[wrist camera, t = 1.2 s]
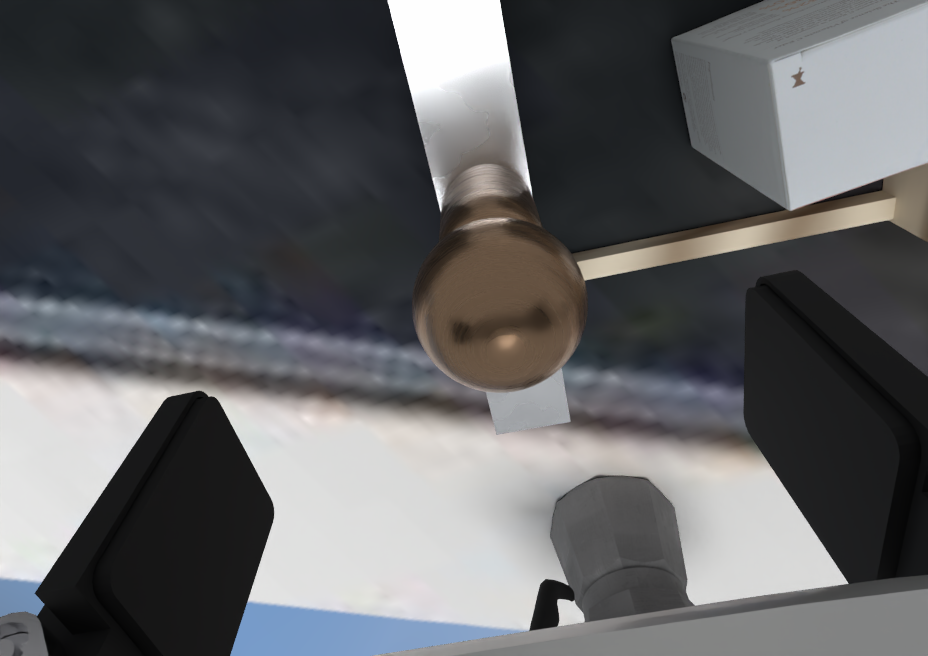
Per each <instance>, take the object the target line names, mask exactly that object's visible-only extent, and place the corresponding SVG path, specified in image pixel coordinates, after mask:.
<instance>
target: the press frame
mask: <svg viewBox="0 0 928 656" xmlns="http://www.w3.org/2000/svg"><path fill="white" fill-rule="evenodd" d="M886 220H889V221H891V222H892V223H894V224H896V225H898V226H900V227H901V228H903V229H905V230H907V231H908V232H910V233H912V234H914V235H916V236H917V237H919V238H921V239H923V240H925V241H926V242H928V163H927V164H924V165H921V166H918V167H915V168H913V169H910V170H907V171H904V172H901V173H898V174H895V175H892V176H889V177H886V178H884V180H883V187H882V191H877V192H872V193H867V194H862V195H857V196H853V197H848V198H843V199H838V200H833V201H828V202H823V203H818V204H813V205H808V206H804V207H801V208H798V209H795V210H792V211H789V210H784V211H779V212H774V213H769V214H764V215H759V216H755V217H750V218H745V219H740V220H735V221H730V222H725V223H720V224H715V225H710V226H705V227H701V228H696V229H691V230H686V231H681V232H676V233H671V234H666V235H661V236H656V237H652V238H647V239H642V240H637V241H632V242H627V243H622V244H617V245H612V246H607V247H603V248H598V249H593V250H588V251H583V252H578V253H573V254H572V255H573V257H574V259H575V260H576V262H577V264H578V266H579V268H580V270H581V272H582V275H583V278H584V280H589V279H594V278H599V277H604V276H609V275H614V274H619V273H624V272H629V271H635V270H640V269H645V268H650V267H655V266H660V265H665V264H670V263H675V262H680V261H685V260H690V259H695V258H700V257H705V256H710V255H715V254H720V253H725V252H730V251H735V250H740V249H745V248H750V247H755V246H760V245H765V244H770V243H775V242H780V241H785V240H790V239H795V238H800V237H805V236H810V235H816V234H821V233H826V232H831V231H836V230H841V229H846V228H851V227H856V226H861V225H866V224H871V223H876V222H881V221H886Z"/></svg>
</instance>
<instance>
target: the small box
mask: <svg viewBox="0 0 928 656" xmlns="http://www.w3.org/2000/svg"><path fill="white" fill-rule="evenodd" d="M671 43H672V47H673V52H674V58H675V63H676V68H677V73H678V79H679V84H680V89H681V94H682V99H683V105H684V110H685V115H686V120H687V125H688V130H689V135H690V140H691V146H692V147H693V148H694V149H696V150H697V151H699V152H700V153H702V154H703V155H705V156H706V157H708V158H709V159H711V160H712V161H714V162H715V163H717V164H718V165H720V166H722V167H723V168H725V169H726V170H728V171H729V172H731V173H732V174H734V175H735V176H737V177H738V178H740V179H741V180H743V181H744V182H746V183H747V184H749V185H750V186H752V187H753V188H755V189H756V190H758V191H759V192H761V193H762V194H764V195H765V196H767V197H769V198H770V199H772V200H773V201H775V202H776V203H778V204H779V205H781V206H782V207H784V208H786V209H787V210H789V211H792V210H795V209H798V208H801V207H804V206H806V205H809V204H812V203H815V202H818V201H821V200H824V199H827V198H830V197H833V196H835V195H838V194H841V193H844V192H847V191H850V190H852V189H855V188H858V187H861V186H864V185H867V184H869V183H872V182H875V181H878V180H881V179H883V178H886V177H889V176H892V175H895V174H898V173H901V172H904V171H907V170H910V169H913V168H915V167H918V166H921V165H924V164H927V163H928V0H764V1H762V2H759V3H757V4H755V5H752V6H750V7H747V8H745V9H742V10H740V11H737V12H735V13H732V14H730V15H727V16H725V17H723V18H720V19H718V20H716V21H713V22H711V23H708V24H706V25H703V26H701V27H698V28H696V29H693V30H691V31H689V32H686V33H683V34H681V35H678V36H675V37H673V38H672V39H671Z"/></svg>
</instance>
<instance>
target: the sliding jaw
mask: <svg viewBox="0 0 928 656" xmlns="http://www.w3.org/2000/svg"><path fill="white" fill-rule="evenodd" d="M388 3H389V7H390V11H391V15H392V19H393V23H394V27H395V31H396V35H397V39H398V43H399V47H400V51H401V55H402V59H403V63H404V67H405V71H406V75H407V79H408V83H409V87H410V91H411V95H412V99H413V103H414V107H415V111H416V115H417V119H418V123H419V127H420V131H421V135H422V139H423V143H424V147H425V151H426V155H427V159H428V163H429V167H430V171H431V175H432V179H433V183H434V187H435V191H436V195H437V199H438V203H439V207H440V211H441V222H440V234H439V243H438V244H437V245H436V246H435V247H434V248H433V249H432V251H431V252H430V253H429V254H428V256H427V257H426V259H425V260H424V262H423V264H422V266H421V268H420V270H419V273H418V275H417V278H416V281H415V285H414V290H413V298H412V312H413V320H414V325H415V329H416V333H417V335H418V338H419V340H420V343H421V345H422V346H423V348H424V350H425V352H426V353H427V355H428V356H429V357H430V359H431V360H432V361H433V363H434V364H435V365H436V366H437V367H438V368H439V369H440V370H441V371H443V372H444V373H445V374H446V375H448V376H449V377H450V378H452V379H453V380H455V381H457V382H458V383H460V384H463V385H465V386H467V387H470V388H473V389H476V390H480V391H485V392H486V394H487V398H488V402H489V406H490V410H491V414H492V418H493V422H494V426H495V430H496V434H497V435H498V434H503V433H509V432H515V431H521V430H526V429H532V428H538V427H543V426H549V425H555V424H561V423H566V422H570V416H569V410H568V404H567V398H566V392H565V386H564V380H563V374H562V368H561V367H562V366H563V365H564V364H565V363H566V362H567V361H568V359H569V358H570V357H571V356H572V354H573V353H574V351H575V350H576V348H577V346H578V344H579V342H580V340H581V337H582V335H583V332H584V328H585V324H586V320H587V311H588V299H587V290H586V286H585V281H584V278H583V275H582V272H581V270H580V268H579V266H578V264H577V262H576V260H575V259H574V257H573V255H572V254H571V253H570V251H569V250H568V249H567V248H566V246H565V245H564V244H563V243H562V242H560V241H559V240H558V239H557V238H556V237H555V236H553V235H552V234H551V233H549V232H548V231H547V230H545V229H543V227H542V224H541V221H540V218H539V215H538V212H537V209H536V206H535V203H534V200H533V196H532V190H531V184H530V178H529V172H528V167H527V161H526V155H525V149H524V143H523V137H522V131H521V125H520V119H519V113H518V107H517V101H516V95H515V89H514V83H513V77H512V72H511V66H510V60H509V54H508V48H507V42H506V36H505V30H504V24H503V18H502V12H501V6H500V0H388Z"/></svg>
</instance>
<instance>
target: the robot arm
mask: <svg viewBox="0 0 928 656" xmlns="http://www.w3.org/2000/svg"><path fill="white" fill-rule="evenodd" d="M744 420H745V424H746V427H747V430H748V432H749V434H750V436H751V437H752V439H753V440H754V442H755V443H756V445H757V446H758V448H759V449H760V451H761V452H762V454H763V455H764V457H765V458H766V460H767V461H768V463H769V464H770V466H771V467H772V469H773V470H774V472H775V473H776V475H777V476H778V478H779V479H780V481H781V482H782V484H783V485H784V487H785V488H786V490H787V491H788V493H789V494H790V496H791V497H792V499H793V500H794V502H795V503H796V505H797V506H798V508H799V509H800V511H801V512H802V514H803V515H804V517H805V518H806V520H807V521H808V523H809V524H810V526H811V527H812V529H813V530H814V532H815V533H816V535H817V536H818V538H819V539H820V541H821V542H822V544H823V545H824V547H825V548H826V550H827V551H828V553H829V554H830V556H831V557H832V559H833V560H834V562H835V563H836V565H837V566H838V568H839V569H840V571H841V572H842V574H843V575H844V577H845V579H846V580H847V582H848V583H849V584H845V585H838V586H830V587H823V588H815V589H808V590H801V591H793V592H786V593H778V594H771V595H763V596H757V597H750V598H744V599H737V600H730V601H724V602H717V603H710V604H704V605H697V606H691V607H684V608H677V609H671V610H664V611H658V612H651V613H644V614H638V615H631V616H625V617H618V618H611V619H605V620H598V621H591V622H585V623H578V624H572V625H565V626H559V627H552V628H546V629H540V630H533V631H527V632H520V633H514V634H508V635H501V636H495V637H488V638H482V639H476V640H469V641H463V642H457V643H450V644H444V645H437V646H431V647H425V648H418V649H412V650H406V651H400V652H393V653H387V654H380V655H374V656H928V377H927V376H926V375H925V374H924V373H922V372H921V371H920V370H919V369H918V368H916V367H915V366H914V365H913V364H911V363H910V362H909V361H908V360H907V359H905V358H904V357H903V356H902V355H901V354H899V353H898V352H897V351H896V350H895V349H893V348H892V347H891V346H890V345H888V344H887V343H886V342H885V341H884V340H882V339H881V338H880V337H879V336H878V335H876V334H875V333H874V332H873V331H872V330H870V329H869V328H868V327H867V326H865V325H864V324H863V323H862V322H861V321H859V320H858V319H857V318H856V317H855V316H853V315H852V314H851V313H850V312H849V311H847V310H846V309H845V308H844V307H842V306H841V305H840V304H839V303H838V302H836V301H835V300H834V299H833V298H832V297H830V296H829V295H828V294H827V293H825V292H824V291H823V290H822V289H821V288H819V287H818V286H817V285H816V284H815V283H813V282H812V281H811V280H810V279H809V278H807V277H806V276H805V275H804V274H802V273H801V272H799V271H798V270H793V271H788V272H783V273H778V274H773V275H768V276H764V277H760V278H759V279H758V280H757V282H756V287H753V288H749V289H748V290H747V293H746V308H745V364H744ZM273 519H274V507H273V503H272V500H271V498H270V496H269V494H268V492H267V491H266V489H265V487H264V485H263V483H262V481H261V479H260V477H259V476H258V474H257V472H256V470H255V468H254V466H253V464H252V463H251V461H250V459H249V457H248V455H247V453H246V451H245V449H244V448H243V446H242V444H241V442H240V440H239V438H238V436H237V434H236V433H235V431H234V429H233V427H232V425H231V423H230V421H229V420H228V418H227V416H226V414H225V412H224V410H223V408H222V406H221V405H220V403H219V401H218V400H217V399H216V398H215V397H212V396H211V397H208V395H207V394H205V393H204V392H202V391H196V392H191V393H186V394H181V395H176V396H171V397H168V398H167V399H166V400H165V401H164V402H163V403H162V405H161V406H160V408H159V409H158V411H157V412H156V414H155V415H154V417H153V418H152V420H151V421H150V423H149V424H148V426H147V427H146V429H145V430H144V432H143V433H142V435H141V436H140V438H139V439H138V441H137V442H136V443H135V445H134V446H133V448H132V449H131V451H130V452H129V454H128V455H127V457H126V458H125V460H124V461H123V463H122V464H121V466H120V467H119V469H118V470H117V472H116V473H115V475H114V476H113V478H112V479H111V481H110V482H109V484H108V485H107V487H106V488H105V490H104V491H103V493H102V494H101V496H100V497H99V499H98V500H97V501H96V503H95V504H94V506H93V507H92V509H91V510H90V512H89V513H88V515H87V516H86V518H85V519H84V521H83V522H82V524H81V525H80V527H79V528H78V530H77V531H76V533H75V534H74V536H73V537H72V539H71V540H70V542H69V543H68V545H67V546H66V548H65V549H64V551H63V552H62V554H61V555H60V557H59V558H58V559H57V561H56V562H55V564H54V565H53V567H52V568H51V570H50V571H49V573H48V574H47V576H46V577H45V579H44V580H43V582H42V583H41V585H40V586H39V588H38V590H37V591H36V592H35V594H36V595H37V596H38V597H39V598H40V600H41V601H42V602H43V603H44V604H45V605H44V607H43V608H42V610H41V611H40V613H39V614H38V616H36V615H34V614H31V613H28V612H18V613H11V614H8V615H5V616H2V617H0V656H230V654H231V651H232V648H233V644H234V641H235V638H236V635H237V632H238V629H239V626H240V623H241V620H242V617H243V613H244V610H245V607H246V604H247V601H248V598H249V595H250V592H251V589H252V586H253V582H254V579H255V576H256V573H257V570H258V567H259V564H260V561H261V558H262V554H263V551H264V548H265V545H266V542H267V539H268V536H269V533H270V530H271V526H272V523H273Z"/></svg>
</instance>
